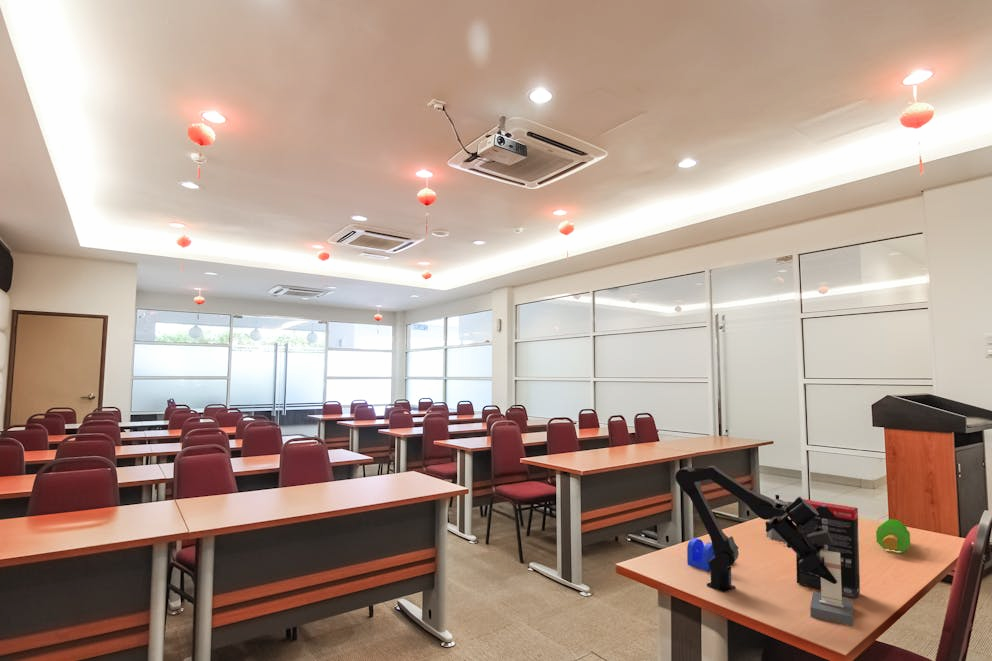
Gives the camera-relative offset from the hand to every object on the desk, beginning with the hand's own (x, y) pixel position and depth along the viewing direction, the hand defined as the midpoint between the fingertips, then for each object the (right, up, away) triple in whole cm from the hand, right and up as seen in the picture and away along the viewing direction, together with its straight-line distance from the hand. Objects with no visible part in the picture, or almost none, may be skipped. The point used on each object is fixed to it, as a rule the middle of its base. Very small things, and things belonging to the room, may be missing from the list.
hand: (836, 581), depth 154 cm
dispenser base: (-1, -9, 0) cm, 9 cm away
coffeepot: (+23, -16, +72) cm, 77 cm away
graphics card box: (+9, -11, +17) cm, 22 cm away
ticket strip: (-1, -9, 0) cm, 9 cm away
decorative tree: (+64, -16, +61) cm, 90 cm away
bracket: (-20, -12, +39) cm, 46 cm away
